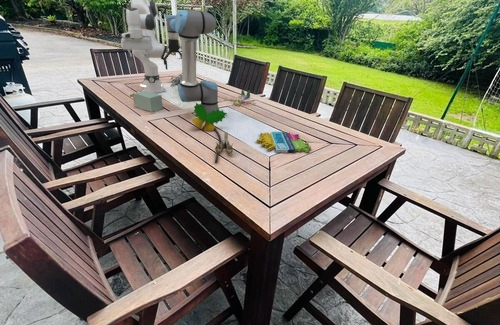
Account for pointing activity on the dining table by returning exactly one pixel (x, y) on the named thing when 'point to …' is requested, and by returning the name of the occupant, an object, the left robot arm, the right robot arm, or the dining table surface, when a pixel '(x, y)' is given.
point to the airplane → (176, 80)
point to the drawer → (133, 97)
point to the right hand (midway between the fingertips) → (175, 69)
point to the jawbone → (224, 145)
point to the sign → (283, 142)
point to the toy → (241, 99)
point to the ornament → (207, 117)
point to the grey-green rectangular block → (148, 101)
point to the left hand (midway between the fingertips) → (138, 56)
